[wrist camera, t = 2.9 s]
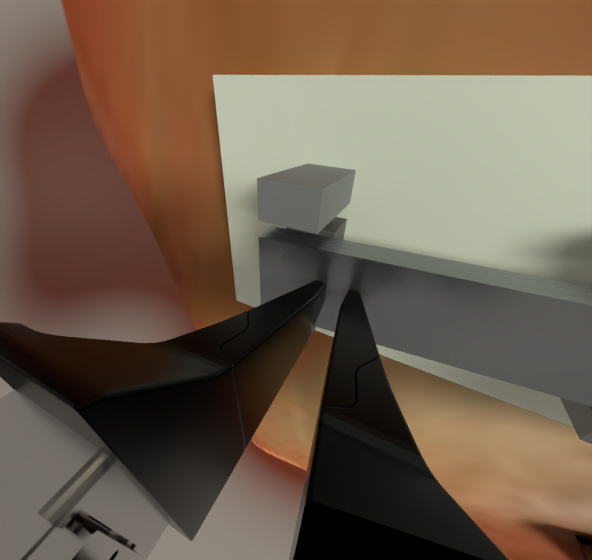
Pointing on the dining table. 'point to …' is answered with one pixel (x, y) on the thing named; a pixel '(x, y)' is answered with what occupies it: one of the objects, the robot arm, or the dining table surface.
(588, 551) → the sunglasses case
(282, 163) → the base
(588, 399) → the bar
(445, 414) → the dining table surface
